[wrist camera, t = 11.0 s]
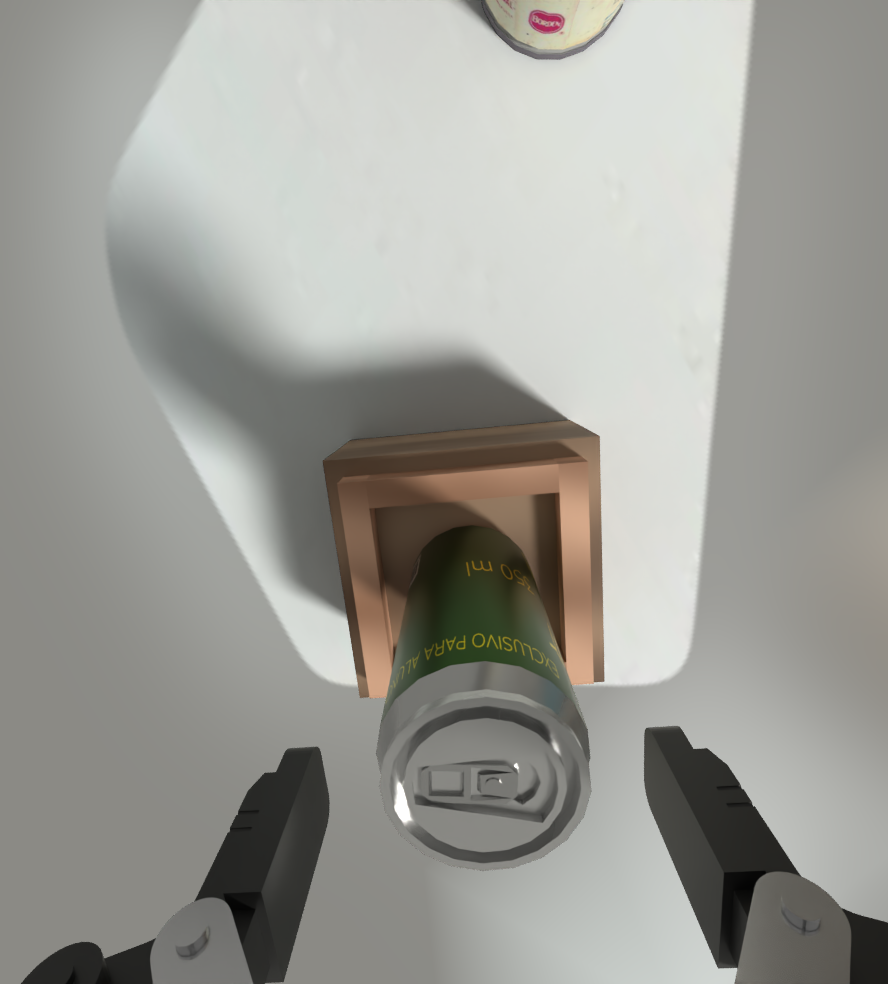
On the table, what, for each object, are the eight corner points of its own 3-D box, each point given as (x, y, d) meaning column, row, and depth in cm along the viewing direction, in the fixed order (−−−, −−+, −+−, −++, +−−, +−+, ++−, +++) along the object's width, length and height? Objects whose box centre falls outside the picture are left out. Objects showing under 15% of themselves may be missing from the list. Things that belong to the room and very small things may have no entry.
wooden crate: (350, 440, 28) (315, 466, 21) (569, 420, 27) (607, 440, 20) (378, 634, 31) (355, 714, 24) (576, 620, 30) (611, 697, 23)
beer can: (413, 627, 24) (373, 875, 13) (411, 519, 23) (365, 685, 11) (526, 628, 24) (592, 881, 12) (532, 520, 23) (611, 689, 11)
